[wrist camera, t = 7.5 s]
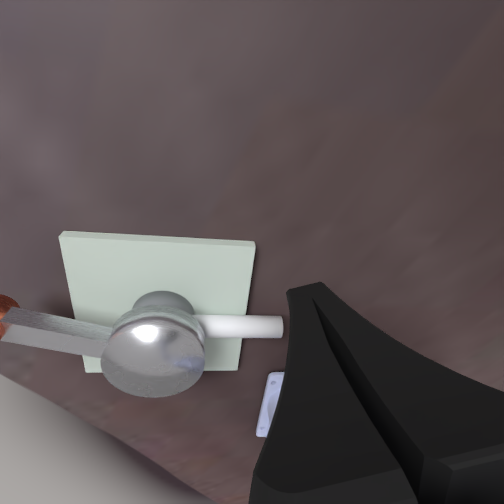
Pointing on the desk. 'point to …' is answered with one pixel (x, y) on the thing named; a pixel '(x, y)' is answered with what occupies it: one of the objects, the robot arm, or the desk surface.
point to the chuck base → (167, 286)
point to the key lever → (120, 344)
